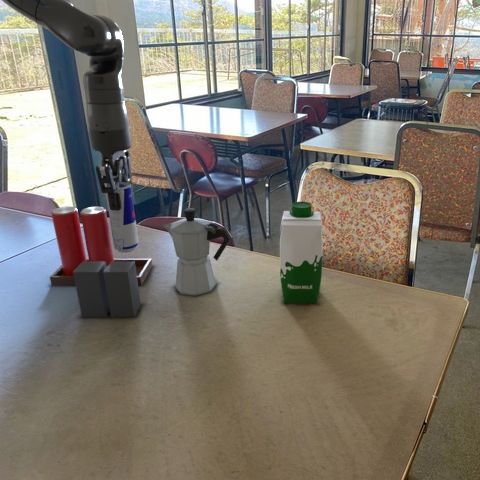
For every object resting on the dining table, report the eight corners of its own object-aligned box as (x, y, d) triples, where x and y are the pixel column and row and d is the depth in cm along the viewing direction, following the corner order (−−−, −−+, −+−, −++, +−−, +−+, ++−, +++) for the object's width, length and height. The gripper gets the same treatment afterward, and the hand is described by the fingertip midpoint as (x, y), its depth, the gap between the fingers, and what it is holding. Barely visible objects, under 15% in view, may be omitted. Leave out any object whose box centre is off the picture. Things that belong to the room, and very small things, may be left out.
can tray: (51, 285, 104) (49, 277, 103) (69, 266, 113) (67, 258, 112) (141, 285, 105) (140, 277, 105) (152, 266, 114) (151, 258, 113)
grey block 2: (110, 317, 94) (103, 271, 90) (118, 305, 98) (111, 261, 94) (134, 317, 94) (127, 271, 90) (140, 305, 98) (134, 261, 94)
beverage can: (143, 249, 107) (135, 184, 101) (121, 256, 104) (111, 189, 97) (131, 242, 110) (123, 179, 104) (110, 248, 107) (100, 184, 101)
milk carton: (320, 285, 108) (323, 201, 100) (321, 306, 100) (324, 216, 92) (281, 284, 108) (280, 200, 99) (279, 306, 99) (278, 216, 91)
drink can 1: (60, 278, 106) (46, 213, 100) (69, 268, 111) (57, 205, 104) (83, 278, 106) (71, 214, 100) (92, 268, 111) (80, 206, 105)
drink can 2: (88, 278, 106) (76, 214, 100) (96, 268, 111) (85, 206, 105) (111, 278, 107) (100, 214, 101) (118, 268, 111) (108, 206, 105)
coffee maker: (159, 292, 103) (150, 213, 96) (177, 273, 111) (170, 199, 104) (225, 300, 101) (221, 220, 94) (239, 280, 109) (236, 206, 101)
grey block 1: (81, 317, 93) (72, 271, 89) (90, 305, 98) (82, 261, 94) (105, 317, 94) (97, 272, 90) (113, 305, 98) (105, 261, 94)
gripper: (102, 118, 102) (113, 194, 109) (74, 131, 89) (89, 217, 96) (138, 119, 103) (147, 194, 109) (116, 132, 89) (127, 217, 96)
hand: (120, 204), depth 103 cm, fingers closed on beverage can, 5 cm apart
